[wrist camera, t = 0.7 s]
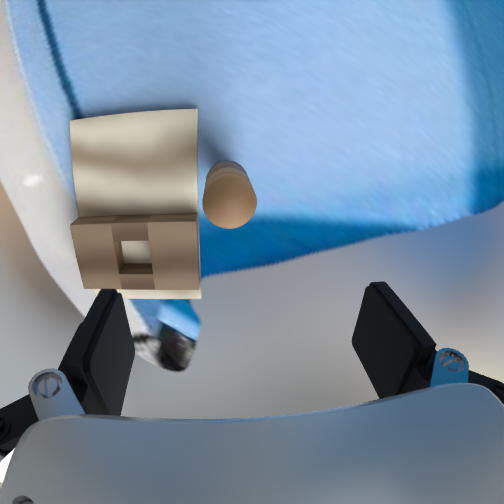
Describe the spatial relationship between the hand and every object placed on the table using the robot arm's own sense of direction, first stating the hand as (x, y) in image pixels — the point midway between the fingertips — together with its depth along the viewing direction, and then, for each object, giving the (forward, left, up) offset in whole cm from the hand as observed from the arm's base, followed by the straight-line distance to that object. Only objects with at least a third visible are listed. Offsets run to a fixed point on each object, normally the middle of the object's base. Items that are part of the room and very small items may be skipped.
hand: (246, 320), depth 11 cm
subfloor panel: (+4, -10, -23) cm, 26 cm away
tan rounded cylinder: (0, 0, -23) cm, 23 cm away
